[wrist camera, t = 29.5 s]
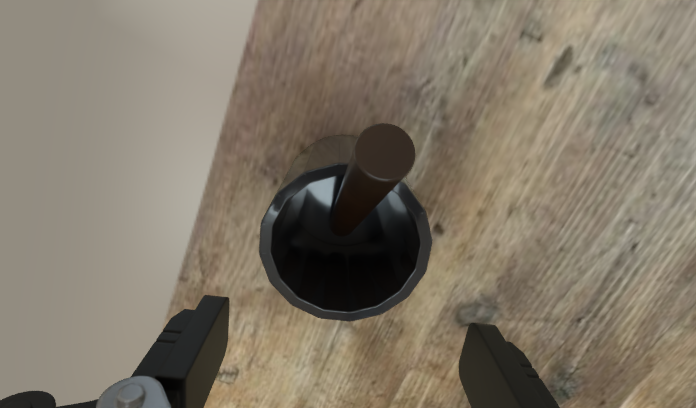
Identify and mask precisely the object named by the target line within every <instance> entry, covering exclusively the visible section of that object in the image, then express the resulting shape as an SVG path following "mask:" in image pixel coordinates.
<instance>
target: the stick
mask: <svg viewBox="0 0 696 408" xmlns="http://www.w3.org/2000/svg"><path fill="white" fill-rule="evenodd" d="M414 161H415V148H414V145H413V142H412V140H411V139H410V137H409V136H408V134H407V133H406V132H405V131H403V130H402V129H401V128H399V127H397V126H395V125H392V124H384V123H382V124H375V125H372V126H370V127H368V128H367V129H365V130H364V131H363V132H362V133H361V134H360V135H359V137H358V139H357V141H356V143H355V146H354V149H353V152H352V155H351V158H350V161H349V164H348V167H347V170H346V173H345V176H344V179H343V182H342V185H341V188H340V191H339V194H338V196H337V199H336V202H335V205H334V208H333V211H332V214H331V217H330V220H329V227H330V230H331V231H332V232H333V233H334V234H335V235H337V236H340V237H344V236H347V235H349V234H351V233H352V231H353V230H354V229H355V228H356V227H357V226H358V225H359V224H360V223H361V222H362V221H363V220H364V219H365V218H366V217H367V216H368V215H369V214H370V213H371V212H372V210H373V209H374V208H375V207H376V206H377V205H378V204H379V203H380V202H381V201H382V200H383V199H384V198H385V197H386V196H387V195H388V194H389V193H390V192H391V191H392V190H393V188H394V187H395V186H396V185H397V184H398V183H399V182H400V181H401V180H402V179H403V178H404V177H405V176H406V175H407V174H408V173H409V171H410V170H411V168H412V167H413V164H414Z"/></svg>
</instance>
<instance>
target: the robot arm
mask: <svg viewBox="0 0 696 408" xmlns="http://www.w3.org/2000/svg"><path fill="white" fill-rule="evenodd" d="M228 326H229V298H228V297H220V296H210V295H205V296H204V297H203V298H202V300H201V301H200V303H199V305H198V306H197V308H196V309H195V310H189V309H184V310H183V311H181V312H180V313H178V314H177V315H175V316H174V317H172V318H171V319H170V321H169V322H168V324H167V325H166V327H165V328H164V329H163V332H161V334H160V335H159V337H158V338H157V341H156V342H155V343H154V344H153V345H152V347H151V348H150V350H149V351H148V353H147V354H146V356H145V357H144V358H143V360H142V362H141V363H140V364H139V366H138V367H137V369H136V370H135V371H134V373H133V374H132V376H131V377H130V378H127V379H123V380H121V381H119V382H117V383H115V384H113V385H112V386H110V387H109V388H108V389H106V390H105V391H104V392H103V394H102V395H101V396H100V397H99V399H97V400H94V401H90V402H84V403H78V404H73V405H66V406H60V407H56V403H55V399H54V397H53V396H52V395H51V394H49V393H47V392H43V391H28V392H23V393H18V394H15V395H12V396H9V397H7V398H5V399H2V400H0V408H203V407H204V405H205V403H206V400H207V398H208V395H209V393H210V390H211V388H212V385H213V383H214V381H215V378H216V376H217V373H218V371H219V368H220V366H221V363H222V361H223V358H224V356H225V352H226V348H227V342H228ZM459 376H460V380H461V383H462V385H463V388H464V390H465V393H466V395H467V398H468V400H469V403H470V405H471V408H560V407H559V406H558V404H557V403H556V401H555V400H554V398H553V397H552V395H551V394H550V392H549V391H548V389H547V388H546V386H545V385H544V383H543V382H542V380H541V379H539V376H538V374H537V373H536V371H535V369H534V368H532V365H531V363H530V362H529V360H528V359H527V357H526V356H525V354H524V353H523V352H522V351H520V350H519V349H518V348H517V347H516V346H515V345H514V344H512V343H511V342H506V341H505V339H504V338H503V336H502V335H501V333H500V331H499V330H498V328H497V327H496V326H495V325H490V324H480V323H471V324H470V325H469V327H468V331H467V334H466V338H465V342H464V345H463V349H462V353H461V356H460V360H459Z"/></svg>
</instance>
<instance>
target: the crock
mask: <svg viewBox="0 0 696 408" xmlns="http://www.w3.org/2000/svg"><path fill="white" fill-rule="evenodd" d="M357 139H358V136H353V135H336V136H331V137H327V138H324V139H321V140H319V141H317V142H315V143H313V144H311V145H310V146H308V147H307V148H306V149H305V150H304V151H302V152H301V153H300V155H299V156H297V157H296V158H295V160H294V162H293V164H292V166H291V167H290V169H289V171H288V173H287V175H286V177H285V178H284V180H283V182H282V184H281V186H280V188H279V189H278V191H277V193H276V195H275V197H274V199H273V200H272V202H271V204H270V206H269V208H268V210H267V212H266V213H265V215H264V217H263V219H262V222H261V228H260V244H259V255H260V257H261V260H262V263H263V265H264V268H265V271H266V273H267V276H268V279H269V281H270V282H271V284H272V285H273V286H274V287H275V288H276V289H277V290H278V291H279V292H280V293H281V294H282V296H283V297H284V298H285V299H286V300H287V301H288V302H289V303H290V304H292V305H293V306H295V307H297V308H299V309H301V310H303V311H305V312H307V313H310V314H312V315H314V316H316V317H318V318H322V319H332V320H341V321H355V320H359V319H364V318H368V317H372V316H376V315H380V314H381V313H382V314H383V313H384V312H386V311H388V310H389V309H391V308H392V307H394V306H395V305H397V304H398V303H400V302H401V301H403V300H404V299H406V298H407V297H408V296H409V295H410V294H411V292H412V291H413V289H414V288H415V287H416V285H417V284H418V282H419V281H420V280H421V278H422V277H423V275H424V274H425V272H426V269H427V265H428V260H429V256H430V251H431V247H432V237H431V232H430V227H429V223H428V218H427V213H426V211H425V209H424V207H423V205H422V204H421V202H420V201H419V199H418V197H417V196H416V194H415V193H414V191H413V189H412V188H411V186H410V185H409V183H408V181H407V180H406V178H405V177H404V178H403V179H402V180H401V181H400V182H399V183H398V184H397V185H396V186H395V187H394V188H393V190H392V191H391V192H390V193H389V194H388V195H387V196H386V197H385V198H384V199H383V200H382V201H381V202H380V203H379V204H378V205H377V206H376V207H375V208H374V209H373V210H372V212H371V213H370V214H369V215H368V216H367V217H366V218H365V219H364V220H363V221H362V222H361V223H360V224H359V225H358V226H357V227H356V228H355V229H354V230H353V231H352V233H351V234H349V235H347V236H344V237H340V236H337V235H335V234H334V233H333V232H332V231H331V230H330V227H329V220H330V217H331V214H332V211H333V208H334V205H335V202H336V199H337V196H338V194H339V191H340V188H341V185H342V182H343V179H344V176H345V173H346V170H347V167H348V164H349V161H350V158H351V155H352V152H353V149H354V146H355V143H356V141H357Z"/></svg>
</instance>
